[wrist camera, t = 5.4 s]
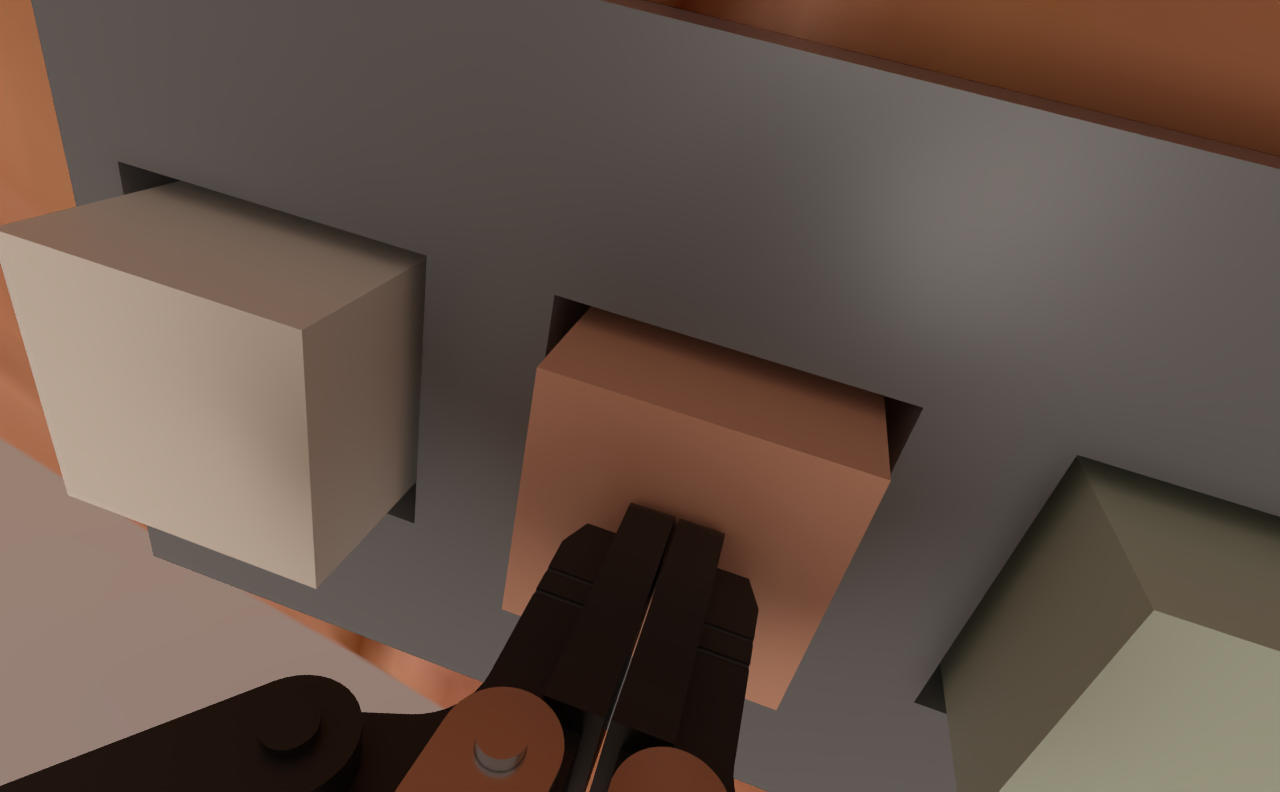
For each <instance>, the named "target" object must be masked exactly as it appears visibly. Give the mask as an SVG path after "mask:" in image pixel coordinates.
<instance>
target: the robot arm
mask: <svg viewBox="0 0 1280 792" xmlns="http://www.w3.org/2000/svg"><path fill="white" fill-rule="evenodd" d="M675 518H676V517H674V516H671V515H668V514H665V513H662V512H659V511H656V510H653V509H650V508H647V507H644V506H641V505H638V504H635V503H632V502H631V503H630V505H629V507H628V509H627V511H626V513H625V515H624V517H623V520H622V522H621V524H620V526H619V528H618V531H617V533H614V532H611V531H609V530H606V529H603V528H600V527H597V526H594V525H591V524H588V523H587V524H586V525H584V526H583V527H581V528H580V529H578V530H577V531H576V532H574V533H573V534H571V535H570V536H568V537H567V538H566V539H564V540H563V541H562V542H561V544H560V546H559V548H558V550H557V552H556V553H555V555H554V557H553V559H552V561H551V562H550V564H549V566H548V569H547V571H546V572H545V573H544V575H543V577H542V579H541V581H540V582H539V584H538V586H537V588H536V591H535V593H533V595H532V597H531V599H530V601H529V602H528V604H527V606H526V608H525V610H524V612H523V613H522V615H521V617H520V619H519V621H518V623H517V624H516V626H515V628H514V630H513V632H512V633H511V635H510V637H509V639H508V641H507V643H506V644H505V646H504V648H503V650H502V652H501V653H500V655H499V657H498V659H497V661H496V663H495V664H494V666H493V668H492V670H491V672H490V673H489V675H488V677H487V678H486V680H485V681H484V683H483V684H482V685H481V686H480V687H479V688H478V689H477V690H476V691H475V692H474V693H473V694H471V695H469V696H467V697H466V698H464V699H463V700H461V701H460V702H459V703H458V704H456V705H454V706H451V707H449V708H447V709H444V710H440V711H437V712H432V713H426V714H390V713H367V712H361V710H360V706H359V703H358V701H357V700H356V698H355V696H354V695H353V694H352V693H351V692H350V690H349V689H348V688H346V687H345V686H343V685H342V684H341V683H339V682H336V681H334V680H332V679H330V678H326V677H322V676H315V675H297V676H292V677H286V678H283V679H279V680H276V681H273V682H270V683H268V684H265V685H263V686H260V687H257V688H255V689H252V690H250V691H247V692H245V693H242V694H239V695H237V696H234V697H231V698H229V699H226V700H224V701H221V702H218V703H216V704H213V705H210V706H208V707H206V708H203V709H200V710H197V711H195V712H192V713H190V714H187V715H184V716H182V717H179V718H177V719H174V720H171V721H169V722H166V723H164V724H161V725H158V726H156V727H153V728H150V729H148V730H145V731H143V732H140V733H137V734H135V735H132V736H130V737H127V738H124V739H122V740H119V741H116V742H114V743H111V744H109V745H106V746H104V747H101V748H98V749H96V750H93V751H90V752H88V753H85V754H83V755H80V756H77V757H75V758H72V759H70V760H67V761H64V762H62V763H59V764H56V765H54V766H51V767H49V768H46V769H43V770H41V771H38V772H36V773H33V774H30V775H28V776H25V777H23V778H20V779H17V780H15V781H12V782H9V783H7V784H4V785H2V786H0V792H585V791H586V789H587V786H588V783H589V780H590V777H591V774H592V771H593V768H594V765H595V762H596V759H597V756H598V753H599V751H600V748H601V745H602V742H603V739H604V736H605V733H606V730H607V727H608V724H609V721H610V718H611V715H612V713H613V710H614V707H615V704H616V701H617V698H618V695H619V692H620V689H621V686H622V683H623V680H624V677H625V675H626V672H627V669H628V666H629V663H630V660H631V657H632V654H633V651H634V648H635V645H636V642H637V639H638V637H639V639H638V642H637V645H636V648H635V651H634V654H633V657H632V660H631V663H630V666H629V669H628V672H627V675H626V678H625V681H624V683H623V686H622V689H621V692H620V695H619V698H618V701H617V704H616V707H615V710H614V713H613V716H612V719H611V722H610V725H609V729H608V732H607V735H606V739H605V742H604V745H603V749H602V752H601V755H600V759H599V762H598V765H597V769H596V772H595V775H594V779H593V782H592V785H591V789H590V792H735V789H734V765H735V759H736V752H737V746H738V740H739V733H740V727H741V720H742V714H743V707H744V701H745V695H746V688H747V682H748V675H749V666H750V662H751V656H752V649H753V641H754V637H755V630H756V624H757V617H758V611H759V608H758V605H757V602H756V599H755V596H754V593H753V590H752V587H751V583H750V580H749V579H748V578H745V577H742V576H740V575H737V574H734V573H731V572H728V571H725V570H722V569H719V568H717V566H718V562H719V558H720V554H721V550H722V546H723V541H724V537H725V534H724V533H721V532H719V531H716V530H713V529H710V528H707V527H704V526H701V525H698V524H695V523H692V522H689V521H686V520H683V519H679V522H678V525H677V528H676V531H675V534H674V537H673V540H672V543H671V545H670V548H669V551H668V554H667V557H666V560H665V563H664V566H663V569H662V572H661V575H660V578H659V581H658V584H657V587H656V590H655V592H654V595H653V598H652V601H651V604H650V600H651V597H652V594H653V591H654V588H655V584H656V581H657V578H658V574H659V571H660V568H661V565H662V561H663V558H664V555H665V551H666V548H667V545H668V542H669V538H670V535H671V532H672V528H673V525H674V522H675ZM649 604H650V607H649ZM648 607H649V610H648ZM647 610H648V613H647ZM646 613H647V616H646ZM645 616H646V619H645ZM644 619H645V622H644ZM643 622H644V625H643ZM642 625H643V628H642ZM641 628H642V631H641ZM640 631H641V634H640ZM639 634H640V636H639Z"/></svg>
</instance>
